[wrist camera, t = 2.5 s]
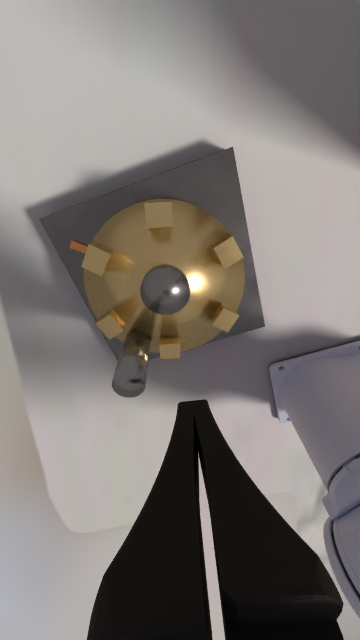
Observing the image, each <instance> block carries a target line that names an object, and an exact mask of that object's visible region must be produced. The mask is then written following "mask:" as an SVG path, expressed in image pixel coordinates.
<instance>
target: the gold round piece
mask: <svg viewBox="0 0 360 640" xmlns="http://www.w3.org/2000/svg"><path fill="white" fill-rule="evenodd" d="M243 258H244V257H243V255H242V253H241V251H240V249H239V247H238V245H237V243H236V241H235V240H234V238H233V236H232V235H231V233H230V232H229V231H228V230H227V229H226V227H225V226H224V225H223V224H222V223H221V222H220V221H219V220H217V219H216V218H215V217H214V216H212V215H211V214H209V213H208V212H206V211H205V210H203V209H202V208H199V207H197V206H195V205H193V204H191V203H188V202H184V201H181V200H175V199H152V200H147V201H143V202H139V203H137V204H134V205H132V206H130V207H128V208H125V209H123V210H122V211H120V212H119V213H117V214H115V215H114V216H113V217H112V218H110V219H109V220H108V221H107V222H106V223H105V224H104V225H103V226H102V227H101V229H100V230H99V231H98V232H97V234H96V235H95V237H94V239H93V240H92V242H91V243H90V244H89V245H88V248H87V251H86V254H85V257H84V260H83V263H82V266H81V267H83V268H84V286H85V291H86V295H87V298H88V302H89V304H90V306H91V308H92V310H93V312H94V314H95V315H96V317H97V318H98V320H97V321H96V323H95V325H96V326H97V327H98V328H99V329H100V330H101V331H102V332H103V333H104V334H105V335H106V336H107V337H108V339H109V340H110V339H111V338H113V337H117V338H118V339H119V340H121V341H123V342H124V344H123V347H122V351H121V354H120V357H119V361H118V364H117V367H116V371H115V374H114V377H113V381H112V387H113V390H114V391H115V392H116V393H117V394H119V395H121V396H123V397H136V396H138V395H140V394H141V393H142V392H143V391H144V389H145V383H146V375H147V367H148V359H149V352H155V353H160V359H174V358H181V354H180V352H182V351H187V350H190V349H193V348H196V347H198V346H201V345H203V344H205V343H206V342H208V341H210V340H211V339H213V338H214V337H215V336H217V335H218V334H219V333H220V332H221V331H222V330H223V331H225V332H229V330H230V329H231V327H232V326H233V324H234V323H235V321H236V320H237V319H238V317H239V316H240V315H239V314H238V312H237V310H238V307H239V305H240V303H241V299H242V296H243V292H244V285H245V270H244V263H243Z"/></svg>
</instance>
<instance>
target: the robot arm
mask: <svg viewBox="0 0 360 640" xmlns="http://www.w3.org/2000/svg"><path fill="white" fill-rule="evenodd" d="M359 346H360V340H359V341H356V342H352V343H348V344H344V345H341V346H337V347H333V348H330V349H326V350H322V351H318V352H315V353H311V354H307V355H303V356H300V357H296V358H292V359H288V360H285V361H281V362H277V363H273V364H271V365H270V367H269V372H270V377H271V383H272V388H273V393H274V399H275V404H276V409H277V415H278V419H279V421H280V422H281V423H287V422H292V424H293V426H294V428H295V430H296V432H297V434H298V435H299V437H300V439H301V441H302V443H303V445H304V447H305V449H306V451H307V453H308V455H309V456H310V458H311V460H312V462H313V464H314V466H315V468H316V470H317V472H318V474H319V476H320V477H321V479H322V481H323V483H324V485H325V487H326V489H327V491H328V494H327V495H326V496H325V497H323V498H322V502H323V504H324V506H325V508H326V510H327V512H328V514H329V516H330V517H329V518H327V520H326V522H325V524H324V529H323V531H324V542H325V547H326V551H327V555H328V558H329V562H330V565H331V568H332V570H333V573H334V575H335V577H336V580H337V582H338V584H339V586H340V588H341V590H342V592H343V593H344V595H345V597H346V598H347V600H348V602H349V603H350V605H351V607H352V608H353V609H354V611H355V613H356V614H357V615H358V617H359V618H360V347H359ZM281 366H282V367H281ZM279 367H281V368H279ZM198 453H199V458H200V463H201V468H202V473H203V478H204V483H205V488H206V493H207V499H208V504H209V510H210V517H211V525H212V533H213V541H214V550H215V558H216V566H217V574H218V582H219V590H220V599H221V607H222V615H223V624H224V632H225V640H344V639H343V635H342V633H341V630H340V628H339V625H338V623H337V618H338V616H339V615H340V613H341V612H342V608H343V601H342V599H341V596H340V594H339V592H338V590H337V588H336V586H335V584H334V582H333V580H332V578H331V577H330V575H329V573H328V571H327V570H326V568H325V566H324V565H323V563H322V561H321V560H320V558H319V557H318V555H317V554H316V553H315V552H314V551H313V550H312V549H311V548H310V547H309V546H308V545H307V544H306V543H305V542H304V541H303V539H302V538H301V537H300V536H299V535H298V534H297V533H296V532H295V531H294V530H293V529H292V528H291V527H290V526H289V524H288V523H287V522H286V521H285V520H284V519H283V518H282V516H281V515H280V514H279V513H278V512H277V511H276V509H275V508H274V507H273V506H272V505H271V503H270V502H269V501H268V500H267V499H266V497H265V496H264V495H263V494H262V493H261V491H260V490H259V489H258V488H257V486H256V485H255V484H254V482H253V481H252V480H251V478H250V477H249V476H248V474H247V473H246V471H245V470H244V469H243V467H242V466H241V464H240V463H239V461H238V460H237V458H236V457H235V455H234V454H233V452H232V450H231V449H230V447H229V445H228V444H227V442H226V440H225V439H224V437H223V435H222V433H221V431H220V430H219V428H218V426H217V424H216V422H215V420H214V417H213V415H212V413H211V410H210V408H209V405H208V401H207V400H195V401H186V402H180V403H179V404H178V409H177V416H176V421H175V425H174V429H173V433H172V436H171V440H170V443H169V446H168V449H167V452H166V455H165V458H164V461H163V463H162V466H161V468H160V471H159V473H158V476H157V478H156V481H155V483H154V485H153V487H152V490H151V492H150V494H149V496H148V498H147V500H146V502H145V504H144V506H143V508H142V510H141V512H140V514H139V516H138V518H137V520H136V521H135V523H134V525H133V527H132V529H131V530H130V532H129V534H128V536H127V538H126V539H125V541H124V543H123V545H122V546H121V548H120V549H119V551H118V553H117V554H116V556H115V558H114V559H113V561H112V562H111V564H110V566H109V567H108V569H107V571H106V572H105V574H104V576H103V579H102V581H101V584H100V587H99V590H98V593H97V596H96V600H95V603H94V607H93V611H92V615H91V620H90V625H89V631H88V637H87V640H212V630H211V621H210V610H209V600H208V590H207V580H206V571H205V560H204V550H203V540H202V530H201V519H200V504H199V464H198Z"/></svg>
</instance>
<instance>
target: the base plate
mask: <svg viewBox="0 0 360 640" xmlns="http://www.w3.org/2000/svg"><path fill="white" fill-rule="evenodd" d="M152 199H175V200H181V201H184V202H188V203H191V204H193V205H195V206H197V207H199V208H202V209H203V210H205V211H206V212H208V213H209V214H211V215H212V216H214V217H215V218H216V219H217V220H219V221H220V222H221V223H222V224H223V225H224V226H225V227H226V229H227V230H228V231H229V232H230V233H231V235H232V236H233V238H234V240H235V241H236V243H237V245H238V247H239V249H240V251H241V253H242V255H243V257H244V258H243V263H244V270H245V285H244V292H243V296H242V299H241V303H240V305H239V307H238V310H237V312H238V314H239V315H240V316H239V317H238V319H237V320H236V321H235V323H234V324H233V326H232V327H231V329H230V330H229V332H225V331H223V330H222V331H221V332H220V333H219V334H218V335H217V336H215V337H214V338H213V339H211V340H210V341H208V342H206V343H209V342H212V341H216V340H219V339H223V338H226V337H230V336H233V335H237V334H240V333H244V332H247V331H251V330H254V329H258V328H261V327H265V324H264V319H263V313H262V307H261V302H260V296H259V291H258V285H257V279H256V274H255V268H254V262H253V257H252V251H251V246H250V240H249V234H248V229H247V223H246V217H245V212H244V206H243V201H242V195H241V189H240V184H239V178H238V172H237V167H236V161H235V156H234V150H233V147H231V148H228V149H226V150H223V151H220V152H218V153H215V154H212V155H209V156H207V157H204V158H201V159H199V160H196V161H193V162H191V163H188V164H185V165H183V166H180V167H177V168H175V169H172V170H169V171H167V172H164V173H161V174H159V175H156V176H153V177H151V178H148V179H145V180H142V181H140V182H137V183H134V184H132V185H129V186H126V187H124V188H121V189H118V190H116V191H113V192H110V193H108V194H105V195H102V196H100V197H97V198H94V199H92V200H89V201H86V202H83V203H81V204H78V205H75V206H73V207H70V208H67V209H65V210H62V211H59V212H57V213H54V214H51V215H49V216H46V217H43V218H41V219H40V221H41V223H42V225H43V227H44V228H45V230H46V232H47V234H48V236H49V238H50V239H51V241H52V243H53V245H54V247H55V248H56V250H57V252H58V254H59V256H60V257H61V259H62V261H63V263H64V265H65V266H66V268H67V270H68V272H69V274H70V276H71V277H72V279H73V281H74V283H75V285H76V286H77V288H78V290H79V292H80V294H81V295H82V297H83V299H84V301H85V303H86V304H87V306H88V308H89V310H90V312H91V313H92V315H93V317H94V319H95V321H97V320H98V318H97V317H96V315H95V314H94V312H93V310H92V308H91V306H90V304H89V302H88V298H87V295H86V291H85V286H84V268H83V267H81V266H82V263H83V260H84V257H85V254H86V251H87V248H88V245H89V244H90V243H91V242H92V240H93V239H94V237H95V235H96V234H97V232H98V231H99V230H100V229H101V227H102V226H103V225H104V224H105V223H106V222H107V221H108V220H109V219H110V218H112V217H113V216H114V215H115V214H117V213H119V212H120V211H122V210H123V209H125V208H128V207H130V206H132V205H134V204H137V203H139V202H143V201H147V200H152ZM101 332H102V331H101ZM102 333H103V332H102ZM103 335H104V337H105V339H106V341H107V342H108V344H109V346H110V348H111V350H112V351H113V353H114V355H115V357H116V359H117V361H119V357H120V354H121V351H122V347H123V344H124V342H123V341H121V340H119V339H118V338H117V337H113V338H111V339H110V340H109V339H108V337H107V336H106V335H105V334H104V333H103ZM159 356H160V353H155V352H149V359H152V358H156V357H159ZM149 359H148V360H149Z"/></svg>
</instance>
